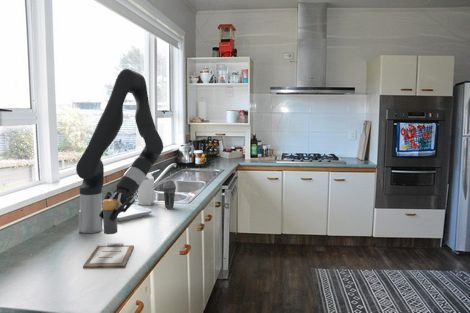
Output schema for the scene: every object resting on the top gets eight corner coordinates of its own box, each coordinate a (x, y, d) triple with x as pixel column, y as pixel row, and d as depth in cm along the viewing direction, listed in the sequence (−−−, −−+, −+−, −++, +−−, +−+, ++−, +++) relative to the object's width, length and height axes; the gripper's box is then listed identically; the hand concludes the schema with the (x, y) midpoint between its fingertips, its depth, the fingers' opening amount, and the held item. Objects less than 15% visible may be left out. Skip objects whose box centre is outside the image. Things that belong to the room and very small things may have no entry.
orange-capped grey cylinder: (102, 234, 139) (101, 202, 137) (105, 230, 144) (104, 199, 142) (116, 234, 139) (115, 201, 138) (118, 229, 144) (118, 198, 143)
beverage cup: (159, 208, 214) (160, 173, 212) (168, 205, 220) (168, 171, 218) (170, 210, 211) (170, 174, 208) (178, 207, 217) (178, 172, 215)
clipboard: (83, 268, 132) (82, 263, 132) (97, 247, 152) (97, 243, 152) (124, 267, 133) (124, 262, 133) (133, 247, 153) (133, 242, 153)
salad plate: (129, 208, 213) (129, 202, 213) (153, 216, 200) (153, 209, 200) (94, 216, 197) (94, 209, 196) (118, 224, 184) (118, 217, 183)
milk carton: (153, 202, 227) (154, 170, 225) (150, 205, 220) (150, 172, 218) (142, 202, 228) (142, 170, 225) (138, 204, 221) (138, 172, 218)
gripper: (113, 173, 149) (87, 209, 141) (138, 177, 141) (112, 216, 133) (124, 184, 154) (99, 220, 146) (149, 189, 146) (124, 227, 138)
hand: (106, 218), depth 139 cm, fingers closed on orange-capped grey cylinder, 5 cm apart
